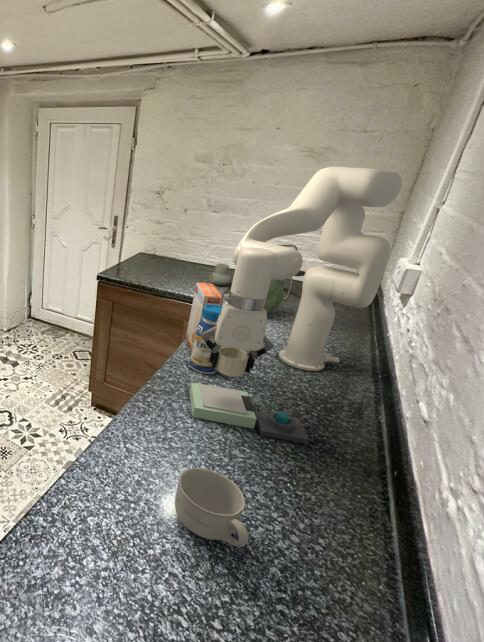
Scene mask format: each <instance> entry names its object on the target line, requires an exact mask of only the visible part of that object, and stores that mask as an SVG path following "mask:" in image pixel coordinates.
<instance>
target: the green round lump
mask: <svg viewBox="0 0 484 642" xmlns="http://www.w3.org/2000/svg"><path fill="white" fill-rule="evenodd" d="M284 281H285V280H271V282H270V286H269V290H268V293H267V297H266V301H265V305H264V309H265V310H266V311H267V315H268V314H270V313H272V312H274V311H275V310H276V309H278V307H279V305H280V304H281V302H282V301H284V300H283V297H285V292H284V291H285V290H284V288H285V285H284Z"/></svg>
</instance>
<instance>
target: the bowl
mask: <svg viewBox="0 0 484 642" xmlns="http://www.w3.org/2000/svg"><path fill="white" fill-rule="evenodd" d="M218 354H219V356H218V360H217V364H216V367H215V368H216V369H217V372H218V373H220V374H222V375H225V376H228V377H233V378H237V377H242V376H244V375H245V374H246V372H245V371H246V367H247V363H248V359H249V355H248V353H247V352H246V350H242V349H235V348H229V347H221V348H220V349H219V350H218Z"/></svg>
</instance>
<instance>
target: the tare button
mask: <svg viewBox="0 0 484 642" xmlns="http://www.w3.org/2000/svg"><path fill="white" fill-rule="evenodd" d="M276 412H277V414H276V417H275V419H276V420H277V421H279V422H281V423H285V424H288V423H289V420H290V417H291V415H290V414H288V413H287V412H284V411H276Z"/></svg>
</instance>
